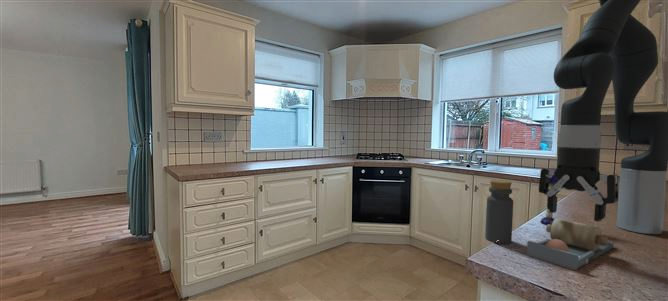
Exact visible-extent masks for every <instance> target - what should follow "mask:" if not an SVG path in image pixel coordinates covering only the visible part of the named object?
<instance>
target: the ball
mask: <svg viewBox="0 0 668 301" xmlns="http://www.w3.org/2000/svg"><path fill="white" fill-rule="evenodd" d="M546 246H549V247H553V248H557V249H560V250H564V251H567V252H568V247H567V245H566V244H565V243H564V242H563V241H561V240H558V239H550V240H549V241H548V242H547V243H546Z"/></svg>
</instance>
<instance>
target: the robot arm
mask: <svg viewBox="0 0 668 301" xmlns="http://www.w3.org/2000/svg"><path fill="white" fill-rule="evenodd" d="M598 1H599V6H600V7H599V8H597V10H595V11H594V12H593V14H591V16H590V17H589V18H588V20H587V21H586V23H585V24H584V26H583V28H582V31H581V33H580V35H579V36H578V39H577V41H576V42H575V43H574V44H573V45H572V46H570V48H569V49H568V50H567V51H566V53H564V55H563V56H562V57H561V58H560V59H559V61H558V62H557V64H556V66H555V68H554V71H553V81H554V84H555V85H556V86H557V88H560V89H563V90H575V89H584V91H583V93H582V94H581V95H579V96H577V97H574V98H570V99H568V100H565V101H564V102H563V103H562V104H561V112H560V125H559V127H560V128H559V131H558V136H557V139H558V140H557V155H556V156H557V157H556V168H555V169H556V170H552V169H549V167H546V168H541V170H540V177H539V183H538V193H541V194H544V195H545V196H547V199H548V200H547V199H546V201H547V202H546V209H547V208H548V209H549V210H550V212H551V213H552V214H554V213H557V209H558V196H557V195H558V194H559V193H560V192H561V191H562V190H564V189H565V190H568V191H572V190H575V191H578V192H587V194H588V195H589V196H590V197H591V198H592V199H593V200H594V201H595V205H594V215H593V220H594V222H601V221H602V220H604V219H605V218H606V212H607V205H608V204H609V205H610V204H615V203H616V202H617V204H618V205H617V216H616V227H617V228H620V229H622V230H625V231H629V232H633V233H634V232H635V233H640V234H645V235H646V234H648V235H662V233H663V226H664V217H665V216H664V215H665V202H666V191H667V190H666V188H667V177H668V176H667V175H668V111H665V110H664V111H662V110H661V111H659V110H658V111H636V112H635V109H634V103H635V100H636V97H637V96H638V94H639V92H640V90H642V88H643V86H645V83H647V81H648V80H649V79H650V77H651V76H652V75H653V73H654V72H655V71H656V68H657V67H658V63H659V55H658V45H657V44H658V43H657V38H656V36H655V34H654V33H653V32H652V31H651V30H650V29H649V28H648V27H646V25H644V24H643V23H642V22H641V21H640V20H638V19H637V18H636V17H634V16H633V15H632V13H633V11H634V10H635V8H636V7H637V6H638V4H640V2H641V1H642V0H598ZM611 84H612V90H613V98H614V122H615V123H614V126H615V127H614V128H615V134H616V138H617V140H618V141H619V143H621V144H624V145H635V146H637V145H638V146H641V145H642V146H649V147H648V149H647V150H645V151H644V152H642V153H640V154H635V155H632V156H627V157H623V158H622V159H621V160H620V169H619V170H620V171H619V175H618V174H616V173H613V174H602V173H600V159H601V158H600V157H601V143H602V142H601V141H602V133H601V120H602V119H601V118H602V107H603V104H604V101H605V97H606V95H607V92H608V90H609V87H610V85H611ZM553 174H554V175H555V176H556V178H557V179H558V180H559V181H558V182H557V183H556V184H555V185H554V186H553V187H552V188H551V189H549V181H550V178H551V177H552V176H553ZM600 180H601V181H602V182H603V184H604V185H606V196H605V195H604V194H603V193H602V190H601V189H600V188H599V186H597V185H596V184H597V183H599V181H600Z"/></svg>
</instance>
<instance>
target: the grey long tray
mask: <svg viewBox="0 0 668 301" xmlns="http://www.w3.org/2000/svg"><path fill="white" fill-rule="evenodd" d="M549 240H551V238H550V239H549V238H545V239H542V240H540V241H539V242H534V241H531V240H528V241H527V244H526V245H527V246H526V256H528V257H532V258H534V259H537V260H538V259H539V260H541V261H545V262H547V263H551V264H553V265H554V264H555V265H556V266H560V267H563V268H567V269H570V270H573V271H578V270H579V269H581V268H582V267H584V266H586V265H587V264H589V263H590V262H592V261H593V260H595V259H597V258H598V257H600V256H601V255H603V254H605V253H606V252H608V251H610V250H611V249H612V248H614V244H615V243H614V242H610V241H608V243H607V246H602V245H600V247H599V249H598V250H597V251H595V252H594V251H592V250H590V251H589V250H585V249H581V248H577V247H574V246H570V245H567V247H568V252H567V251H564V250H560V249H557V248H553V247H549V246H546V243H547V242H548V241H549Z"/></svg>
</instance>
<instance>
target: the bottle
mask: <svg viewBox="0 0 668 301" xmlns="http://www.w3.org/2000/svg"><path fill="white" fill-rule="evenodd" d="M489 182H490V187H488V192H490V195H488V196H487V198H486V210H485V211H486V212H485V231H484V232H485V240H486V241H488V242H491V243H494V242H495V243H494V244H497V243H498V244H499V245H508V244H509V245H510V244H511V243H512V238H513V237H512V236H513V221H514V220H513V219H514V200H513V198H511V196H510V195H511V194H513V189H512V188H511V186H512V181H509V180H502V179H491V180H490V181H489ZM497 240H499V241H497ZM496 241H497V242H496Z"/></svg>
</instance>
